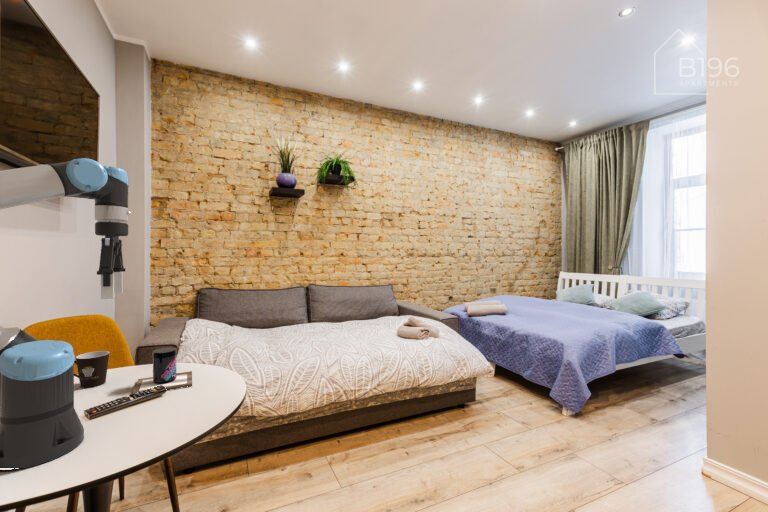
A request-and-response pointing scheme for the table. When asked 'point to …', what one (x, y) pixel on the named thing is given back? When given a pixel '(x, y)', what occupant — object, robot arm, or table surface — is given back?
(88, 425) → the table surface
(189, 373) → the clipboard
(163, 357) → the supplement container
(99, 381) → the coffee mug
